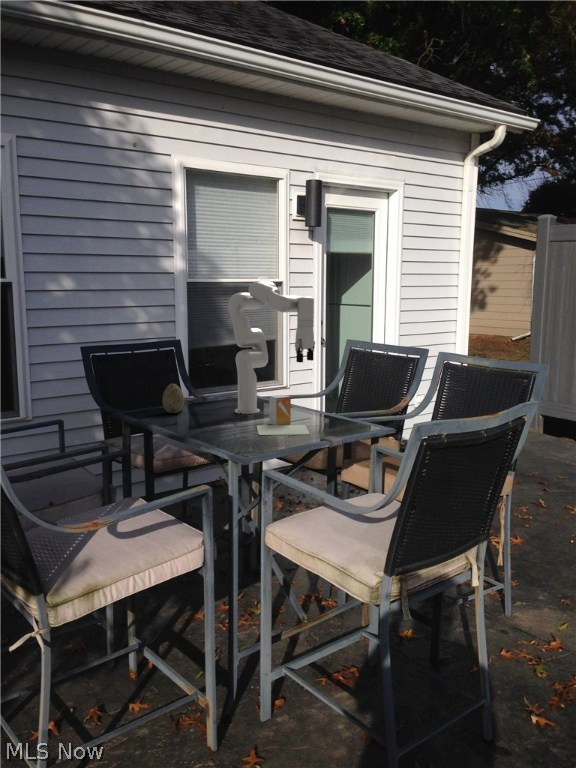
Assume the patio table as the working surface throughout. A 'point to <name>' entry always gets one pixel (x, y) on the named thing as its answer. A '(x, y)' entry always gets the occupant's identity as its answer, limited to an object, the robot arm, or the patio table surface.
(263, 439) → the patio table surface
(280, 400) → the small box
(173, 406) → the decorative egg
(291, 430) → the mat
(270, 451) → the patio table surface
